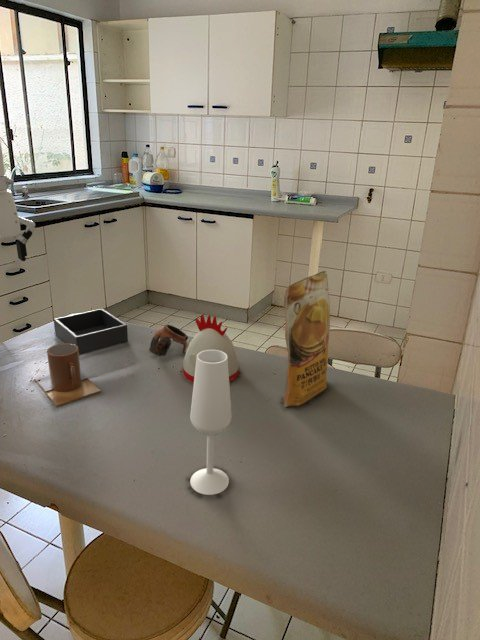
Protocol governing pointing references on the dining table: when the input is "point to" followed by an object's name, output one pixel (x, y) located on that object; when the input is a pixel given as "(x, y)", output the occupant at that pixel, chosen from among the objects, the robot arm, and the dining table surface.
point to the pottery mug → (167, 339)
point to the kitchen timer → (210, 347)
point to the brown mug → (64, 367)
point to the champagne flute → (210, 414)
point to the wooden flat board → (72, 393)
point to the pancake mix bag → (306, 338)
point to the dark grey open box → (91, 330)
